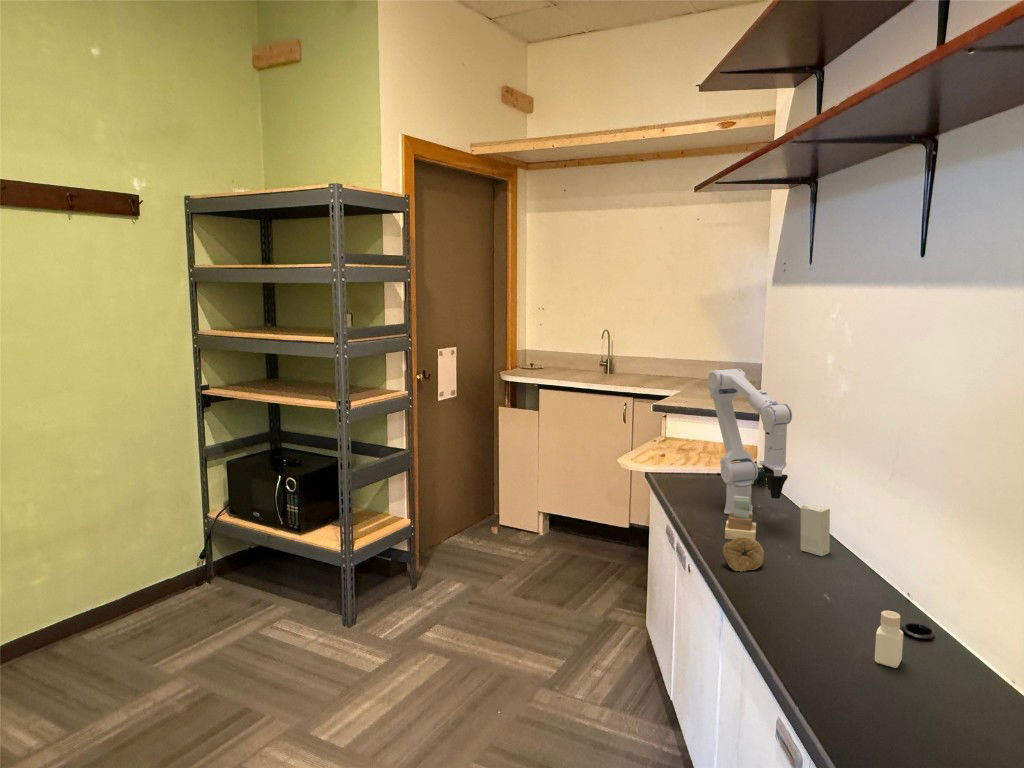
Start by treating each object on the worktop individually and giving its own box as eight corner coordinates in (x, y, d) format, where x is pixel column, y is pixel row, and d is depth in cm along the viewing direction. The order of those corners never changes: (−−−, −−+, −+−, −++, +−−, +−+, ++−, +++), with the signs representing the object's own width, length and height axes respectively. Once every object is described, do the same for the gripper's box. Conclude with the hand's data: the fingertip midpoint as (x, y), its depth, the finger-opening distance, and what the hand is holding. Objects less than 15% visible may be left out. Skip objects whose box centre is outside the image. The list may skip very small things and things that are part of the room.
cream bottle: (878, 654, 137) (881, 607, 135) (902, 660, 134) (905, 613, 133) (873, 663, 134) (876, 615, 132) (897, 670, 131) (900, 621, 130)
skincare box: (830, 552, 185) (831, 508, 184) (821, 557, 183) (823, 512, 181) (807, 546, 190) (809, 502, 188) (798, 550, 187) (800, 506, 186)
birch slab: (726, 530, 205) (726, 520, 204) (755, 532, 202) (756, 522, 202) (724, 540, 197) (724, 529, 197) (755, 543, 195) (755, 532, 194)
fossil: (717, 542, 179) (753, 531, 181) (714, 550, 183) (749, 538, 184) (735, 575, 174) (771, 562, 175) (731, 582, 177) (767, 569, 179)
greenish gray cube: (734, 512, 201) (734, 495, 201) (749, 513, 200) (749, 496, 199) (733, 517, 198) (734, 500, 197) (749, 518, 196) (749, 501, 196)
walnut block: (730, 521, 203) (730, 511, 203) (752, 523, 201) (752, 513, 201) (728, 528, 198) (728, 518, 197) (750, 530, 196) (751, 520, 195)
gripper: (757, 440, 208) (756, 485, 210) (763, 453, 194) (761, 501, 196) (783, 441, 206) (781, 486, 208) (790, 453, 192) (789, 502, 194)
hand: (773, 493), depth 202 cm, fingers open, 7 cm apart
